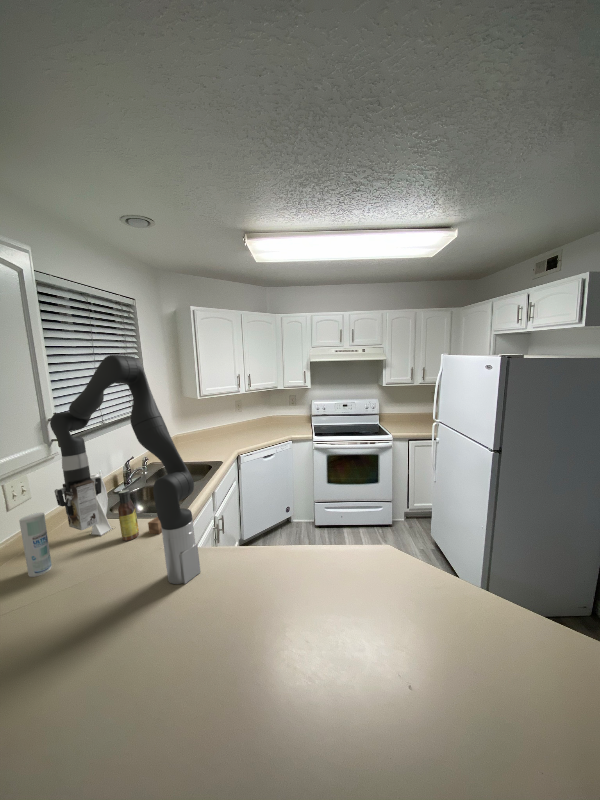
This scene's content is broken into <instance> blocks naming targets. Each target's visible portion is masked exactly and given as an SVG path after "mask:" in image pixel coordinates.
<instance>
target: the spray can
mask: <svg viewBox="0 0 600 800" xmlns="http://www.w3.org/2000/svg"><path fill="white" fill-rule="evenodd" d="M19 527H20V533H21V539H22V545H23V550H24V551H23V552H24V557H25V563H26V567H27V575H28V577H29V578H34V577H39V576H41V575H44V574H46V573H48V572H50V570H51V569H52V559H51V551H50V545H49V544H50V543H49V537H48V530H47V523H46V516H45V512H36V513H31V514H28V515H25V516H23V517H22V518H19Z"/></svg>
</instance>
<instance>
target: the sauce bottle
mask: <svg viewBox="0 0 600 800" xmlns="http://www.w3.org/2000/svg"><path fill="white" fill-rule="evenodd" d="M130 494H131V492H130V489H123V490H120V491H119V492H118V494H117V496H118V497H119V506H118V508H117V512H118V521H119V526H120V531H121V532H120V533H121V537H122V540H123V541H127V542H128V541H132V540H134V539H135V538H137V537H139V535H140V534H139V531H140V528H139V525H138V517H137V511H136V509H137V508H136V506H135V505H134V503H133V501H132V499H131V495H130Z"/></svg>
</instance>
